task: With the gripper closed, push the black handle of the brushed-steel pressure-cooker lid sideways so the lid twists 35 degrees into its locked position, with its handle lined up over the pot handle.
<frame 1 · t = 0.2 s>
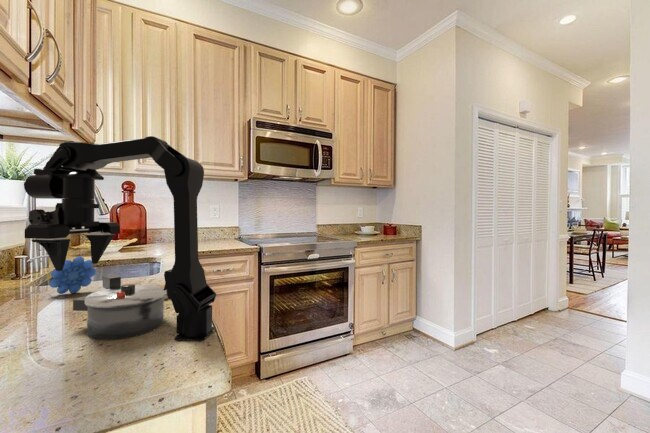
hand: (78, 267, 67), 14 cm above the worktop, fingers open, 9 cm apart
cooker lid: (123, 288, 71), point 9 cm above the worktop, hinge at -35.0°
cooker pot: (127, 326, 70), on the worktop
bread roll: (159, 298, 95), on the worktop
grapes: (73, 293, 97), on the worktop
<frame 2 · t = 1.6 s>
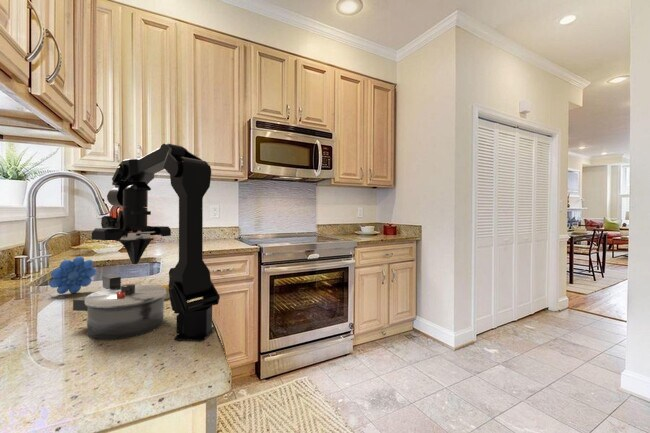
hand: (134, 264, 81), 13 cm above the worktop, fingers closed
nothing on the worktop moved.
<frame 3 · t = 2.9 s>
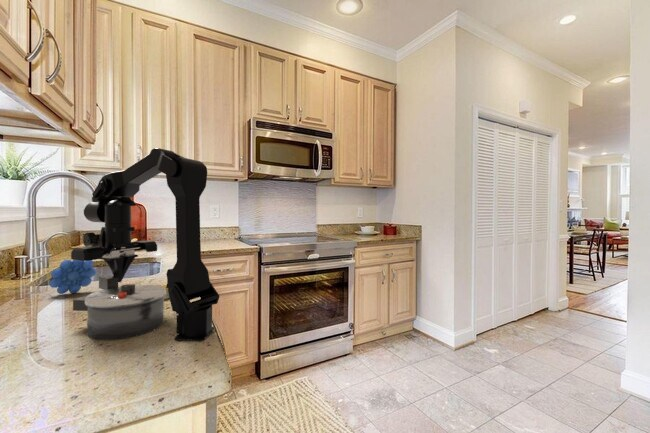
hand: (118, 282, 78), 9 cm above the worktop, fingers closed
cooker lid: (123, 288, 71), point 9 cm above the worktop, hinge at -31.2°, touching gripper
everything else where it was.
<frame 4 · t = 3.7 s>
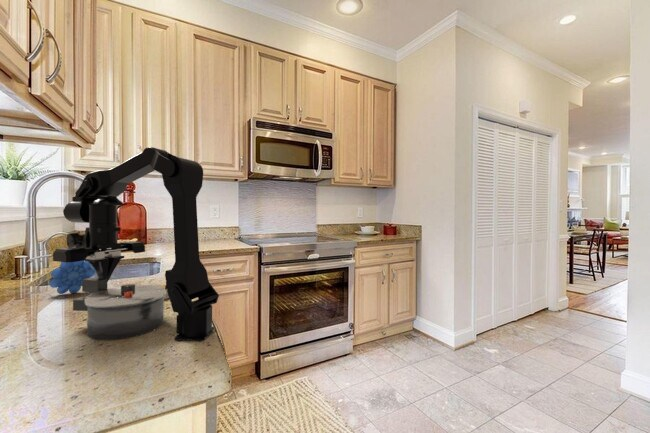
hand: (104, 284, 75), 9 cm above the worktop, fingers closed
cooker lid: (119, 289, 70), point 9 cm above the worktop, hinge at -14.1°, touching gripper
everything else where it was.
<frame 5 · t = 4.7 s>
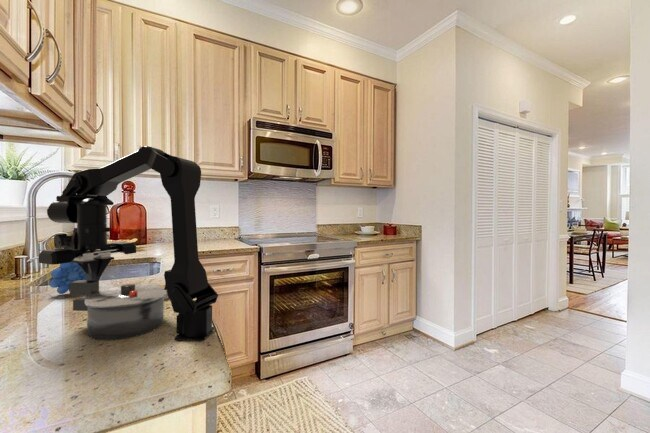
hand: (93, 286, 73), 9 cm above the worktop, fingers closed
cooker lid: (117, 289, 70), point 9 cm above the worktop, hinge at 0.4°, touching gripper
everything else where it was.
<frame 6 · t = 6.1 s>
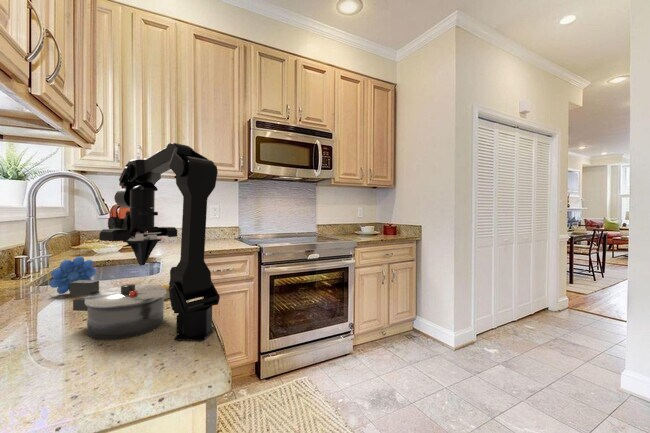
hand: (141, 265, 80), 13 cm above the worktop, fingers closed
cooker lid: (117, 289, 70), point 9 cm above the worktop, hinge at 0.4°
everything else where it was.
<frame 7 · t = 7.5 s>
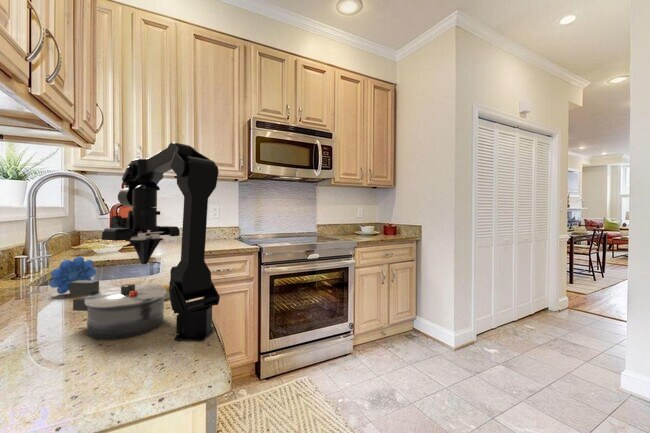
hand: (144, 264, 80), 13 cm above the worktop, fingers closed
nothing on the worktop moved.
at the end: cooker lid at +0° (first picture: -35°) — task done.
